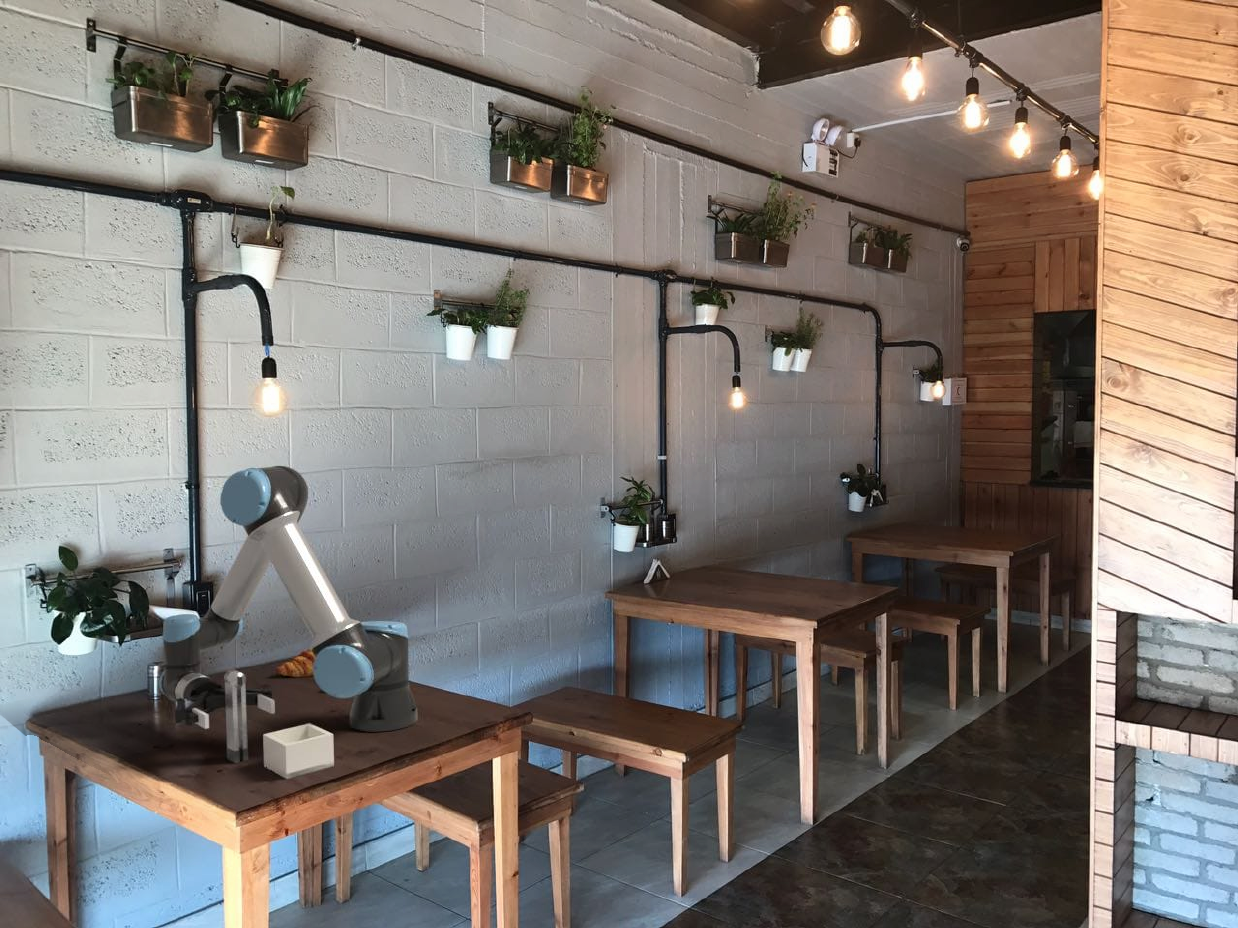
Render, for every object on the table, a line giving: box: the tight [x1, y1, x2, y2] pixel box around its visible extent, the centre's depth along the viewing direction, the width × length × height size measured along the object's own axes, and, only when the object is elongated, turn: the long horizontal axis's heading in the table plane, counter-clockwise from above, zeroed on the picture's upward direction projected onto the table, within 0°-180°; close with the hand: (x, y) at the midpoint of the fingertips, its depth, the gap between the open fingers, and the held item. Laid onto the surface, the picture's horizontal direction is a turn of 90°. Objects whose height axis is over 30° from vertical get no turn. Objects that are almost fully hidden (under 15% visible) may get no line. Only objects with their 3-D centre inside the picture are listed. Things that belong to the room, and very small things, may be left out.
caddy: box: [262, 722, 335, 780], centre depth 200 cm, size 10×10×6 cm
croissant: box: [275, 649, 315, 678], centre depth 273 cm, size 21×10×8 cm, turn 127°
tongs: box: [223, 669, 249, 764], centre depth 204 cm, size 3×5×18 cm, turn 44°
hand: (240, 714), depth 202 cm, fingers open, 13 cm apart
